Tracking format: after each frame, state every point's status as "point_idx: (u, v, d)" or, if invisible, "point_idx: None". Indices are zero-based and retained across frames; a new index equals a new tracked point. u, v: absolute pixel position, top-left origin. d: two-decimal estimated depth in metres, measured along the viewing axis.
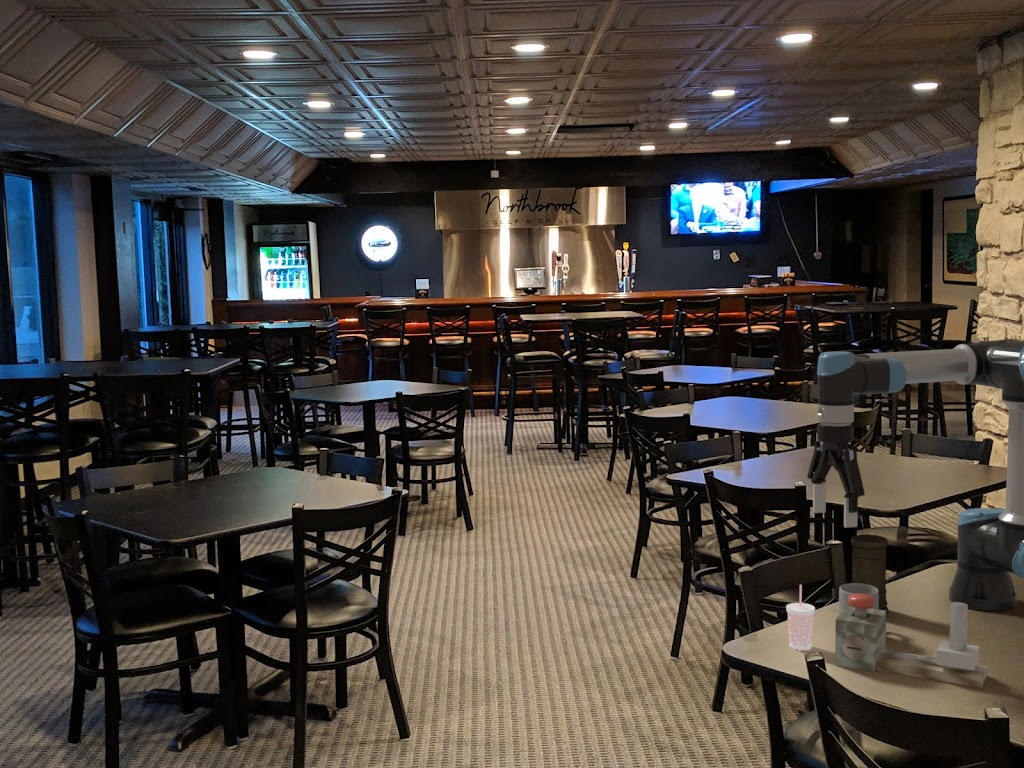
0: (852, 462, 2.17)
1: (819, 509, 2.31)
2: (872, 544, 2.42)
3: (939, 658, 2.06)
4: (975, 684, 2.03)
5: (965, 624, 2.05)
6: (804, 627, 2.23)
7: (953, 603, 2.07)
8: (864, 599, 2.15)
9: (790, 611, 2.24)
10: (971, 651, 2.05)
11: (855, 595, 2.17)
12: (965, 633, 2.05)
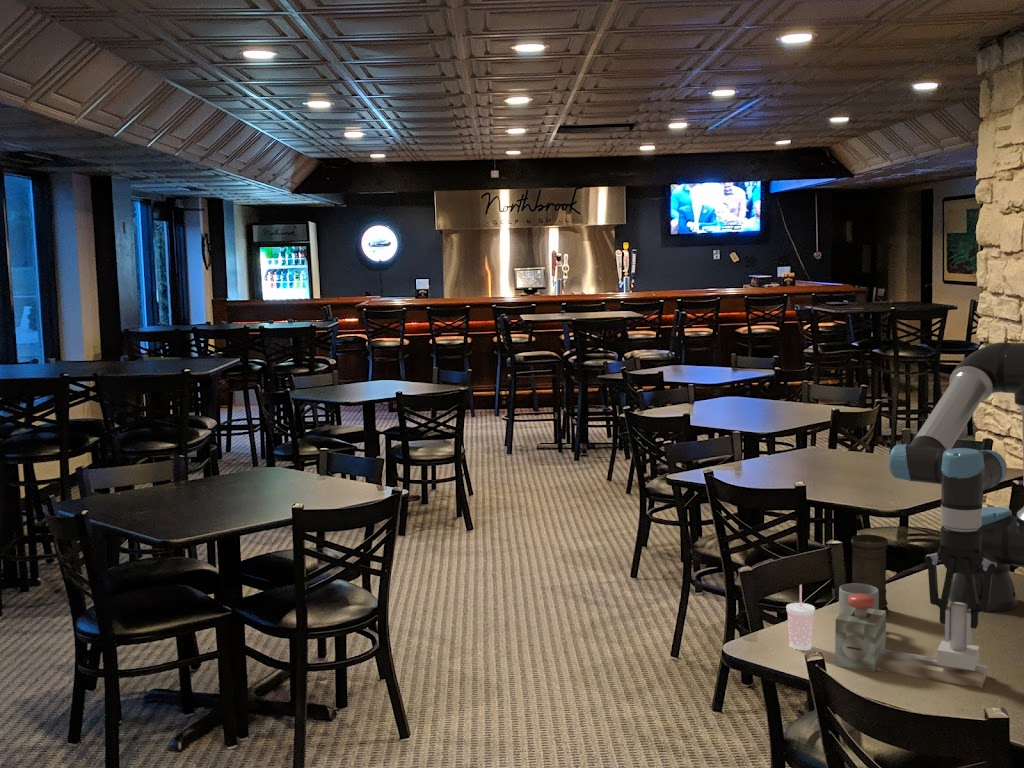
0: None
1: None
2: (872, 544, 2.42)
3: (939, 658, 2.06)
4: (975, 684, 2.03)
5: (965, 624, 2.05)
6: (804, 627, 2.23)
7: (953, 603, 2.07)
8: (864, 599, 2.15)
9: (790, 611, 2.24)
10: (972, 651, 2.05)
11: (855, 595, 2.17)
12: (965, 633, 2.05)
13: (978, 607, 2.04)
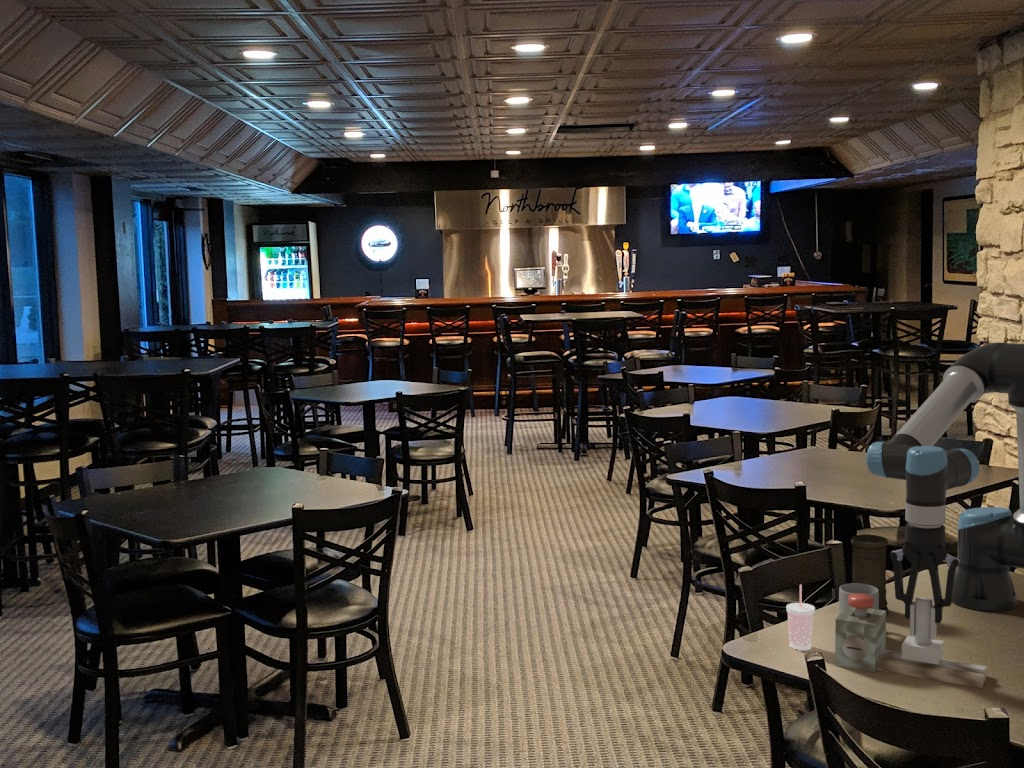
0: None
1: None
2: (872, 544, 2.42)
3: (904, 653, 2.10)
4: (975, 684, 2.03)
5: (929, 619, 2.09)
6: (804, 627, 2.23)
7: (918, 598, 2.11)
8: (864, 599, 2.15)
9: (790, 611, 2.24)
10: (936, 645, 2.09)
11: (855, 595, 2.17)
12: None
13: (942, 602, 2.07)
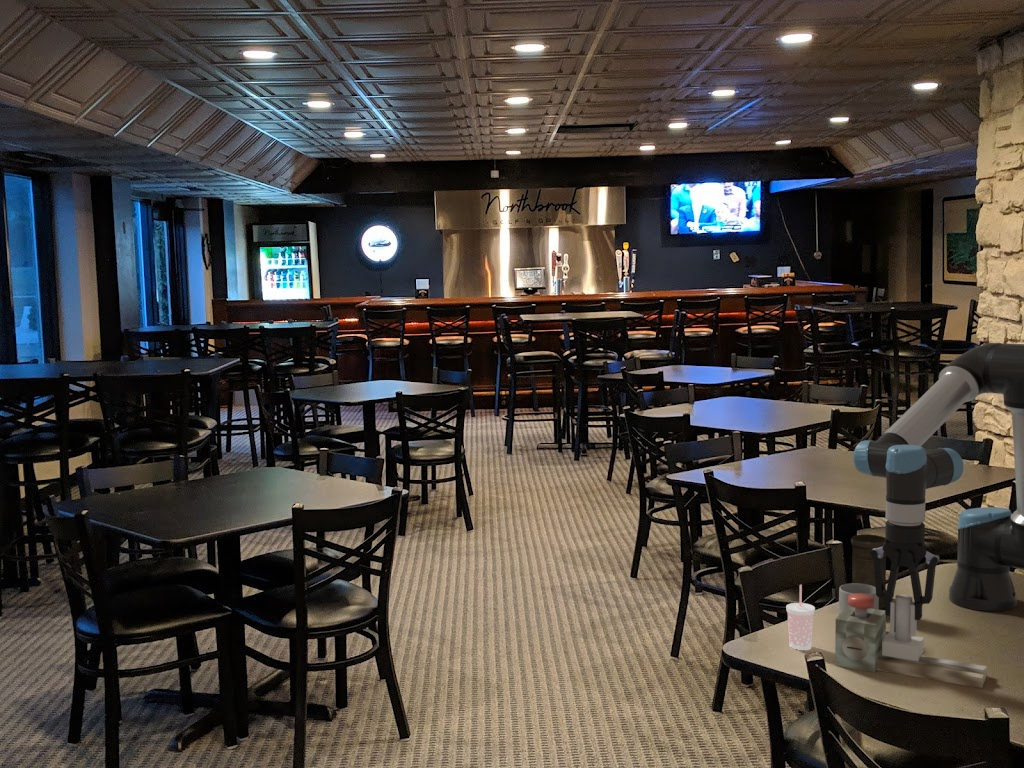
0: None
1: None
2: (872, 544, 2.42)
3: (884, 649, 2.12)
4: (975, 684, 2.03)
5: (909, 616, 2.11)
6: (804, 627, 2.23)
7: (898, 595, 2.13)
8: (864, 599, 2.15)
9: (790, 611, 2.24)
10: (916, 642, 2.11)
11: (855, 595, 2.17)
12: (909, 625, 2.11)
13: (921, 599, 2.09)
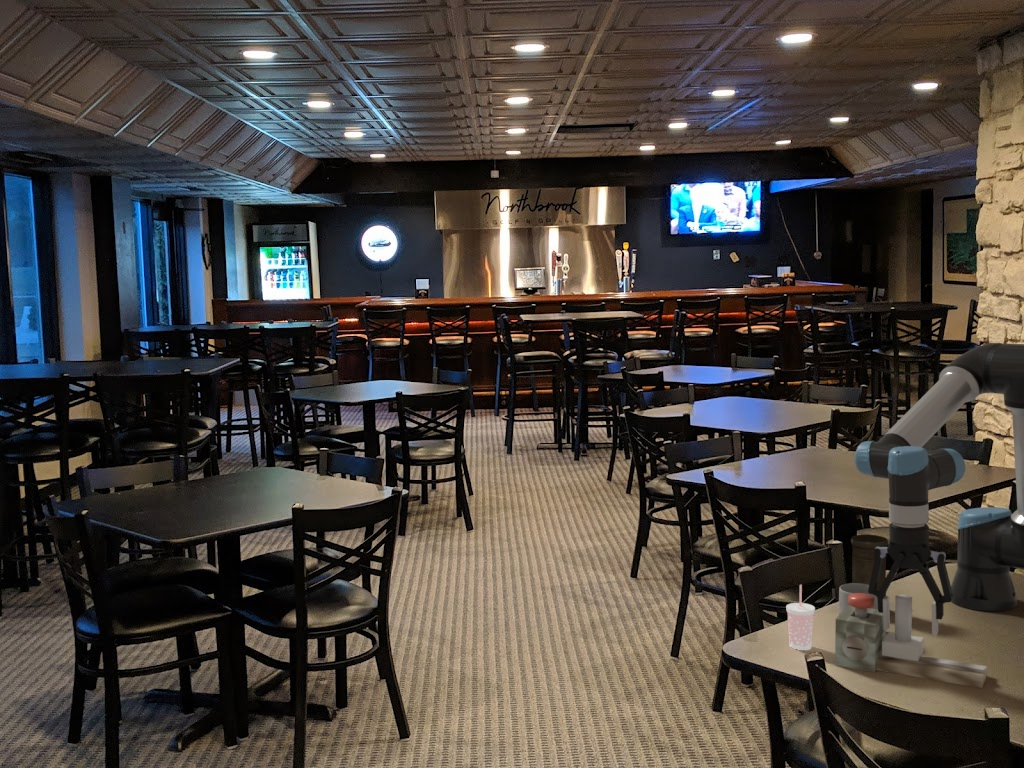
0: None
1: None
2: (872, 544, 2.42)
3: (884, 649, 2.12)
4: (975, 684, 2.03)
5: (909, 616, 2.11)
6: (804, 627, 2.23)
7: (898, 595, 2.13)
8: (864, 599, 2.15)
9: (790, 611, 2.24)
10: (916, 642, 2.11)
11: (855, 595, 2.17)
12: (909, 625, 2.11)
13: (943, 598, 2.07)
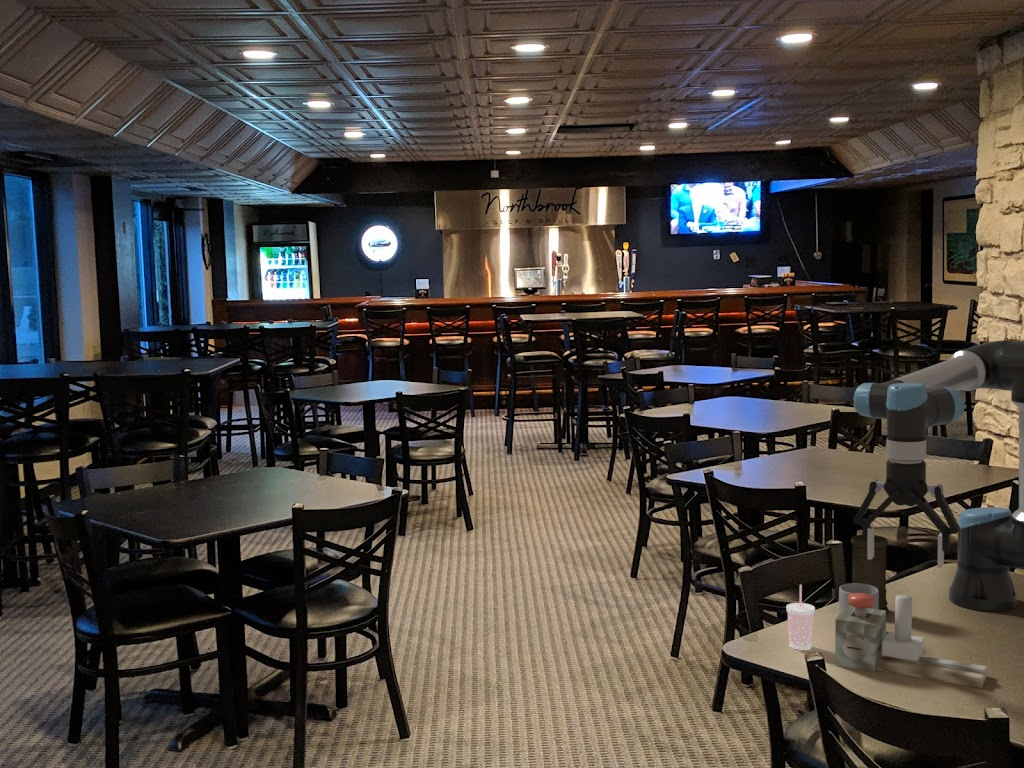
0: None
1: None
2: None
3: (884, 649, 2.12)
4: (975, 684, 2.03)
5: (909, 616, 2.11)
6: (804, 627, 2.23)
7: (898, 595, 2.13)
8: (864, 598, 2.15)
9: (790, 611, 2.24)
10: (916, 642, 2.11)
11: (855, 594, 2.17)
12: (909, 625, 2.11)
13: (949, 529, 2.05)
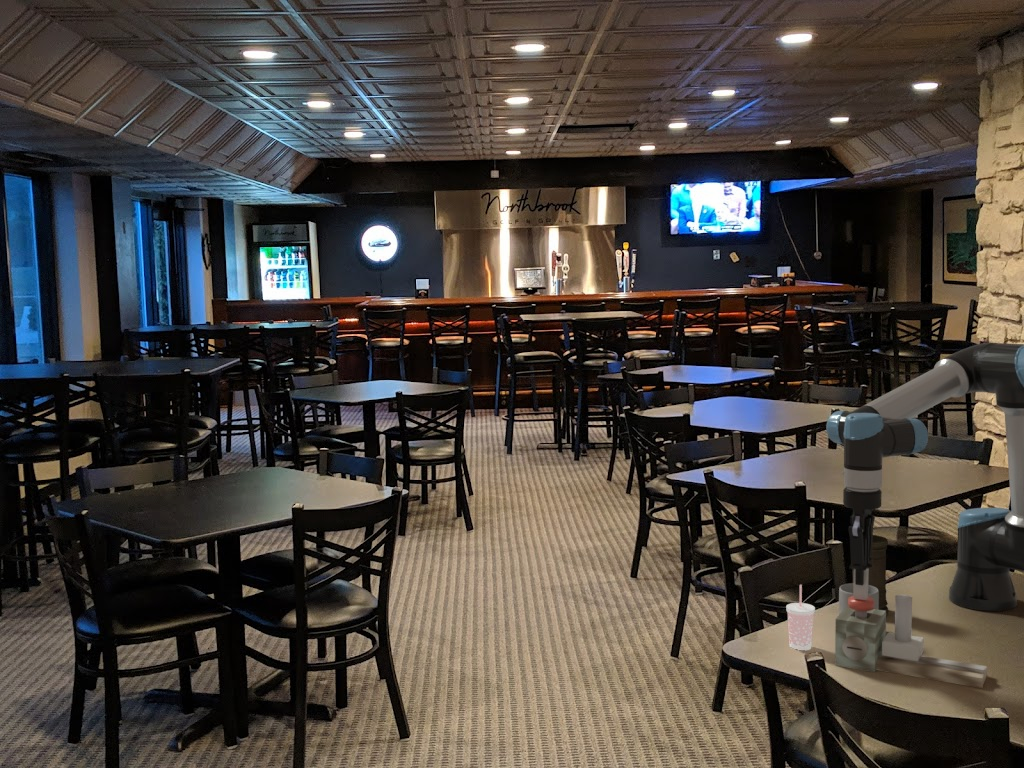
0: (856, 538, 2.10)
1: None
2: (872, 544, 2.42)
3: (884, 649, 2.12)
4: (975, 684, 2.03)
5: (909, 616, 2.11)
6: (804, 627, 2.23)
7: (898, 595, 2.13)
8: (864, 601, 2.15)
9: (790, 611, 2.24)
10: (916, 642, 2.11)
11: None
12: (909, 625, 2.11)
13: None
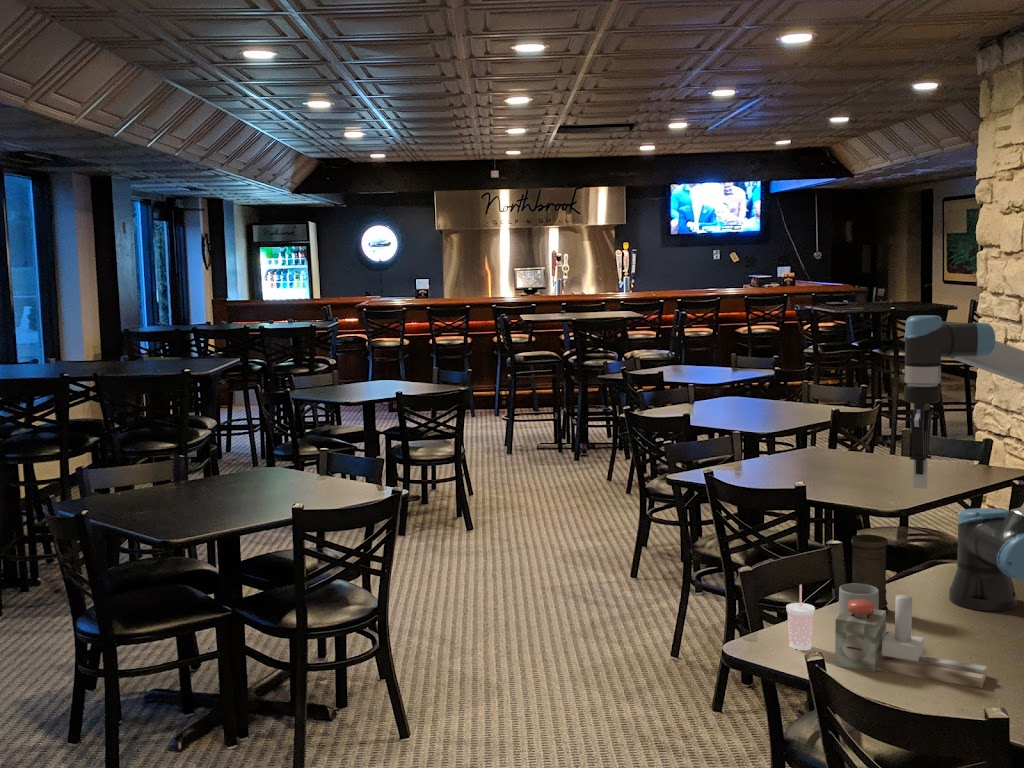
0: (917, 430, 2.28)
1: None
2: (872, 544, 2.42)
3: (884, 649, 2.12)
4: (975, 684, 2.03)
5: (909, 616, 2.11)
6: (804, 627, 2.23)
7: (898, 595, 2.13)
8: (864, 605, 2.15)
9: (790, 611, 2.24)
10: (916, 642, 2.11)
11: (855, 601, 2.17)
12: (909, 625, 2.11)
13: None
